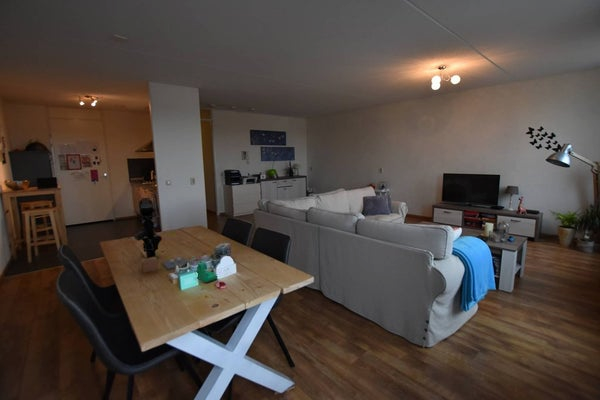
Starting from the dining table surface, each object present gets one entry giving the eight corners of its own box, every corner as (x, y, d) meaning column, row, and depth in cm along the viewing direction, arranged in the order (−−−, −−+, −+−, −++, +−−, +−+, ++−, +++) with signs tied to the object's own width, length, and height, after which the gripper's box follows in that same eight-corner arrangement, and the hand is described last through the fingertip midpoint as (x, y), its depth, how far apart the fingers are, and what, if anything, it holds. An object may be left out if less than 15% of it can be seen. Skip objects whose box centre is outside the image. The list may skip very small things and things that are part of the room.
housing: (142, 270, 177) (141, 259, 176) (156, 267, 183) (154, 256, 181) (144, 272, 174) (142, 261, 173) (158, 269, 179) (157, 258, 178)
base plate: (161, 264, 187) (161, 258, 186) (183, 258, 196) (182, 253, 195) (168, 270, 176) (167, 264, 176) (190, 264, 186) (190, 259, 185)
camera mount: (218, 279, 162) (217, 262, 160) (205, 284, 156) (204, 266, 155) (208, 274, 170) (206, 257, 168) (195, 278, 165) (194, 261, 163)
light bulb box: (224, 263, 185) (223, 248, 184) (215, 263, 187) (214, 247, 185) (231, 258, 196) (230, 243, 194) (222, 257, 197) (221, 242, 195)
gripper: (127, 226, 173) (130, 250, 176) (141, 231, 162) (144, 257, 164) (146, 222, 182) (149, 245, 184) (161, 226, 170) (163, 251, 173)
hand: (151, 250), depth 176 cm, fingers open, 9 cm apart
